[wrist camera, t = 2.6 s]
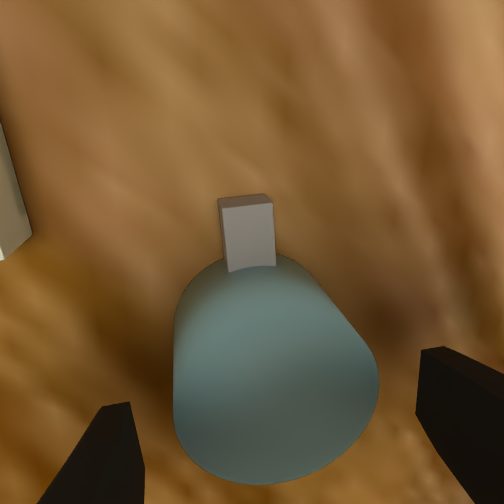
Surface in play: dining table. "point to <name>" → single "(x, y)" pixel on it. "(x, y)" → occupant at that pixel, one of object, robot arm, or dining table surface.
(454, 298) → the dining table surface
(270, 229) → the tabbed cylinder
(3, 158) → the tray
